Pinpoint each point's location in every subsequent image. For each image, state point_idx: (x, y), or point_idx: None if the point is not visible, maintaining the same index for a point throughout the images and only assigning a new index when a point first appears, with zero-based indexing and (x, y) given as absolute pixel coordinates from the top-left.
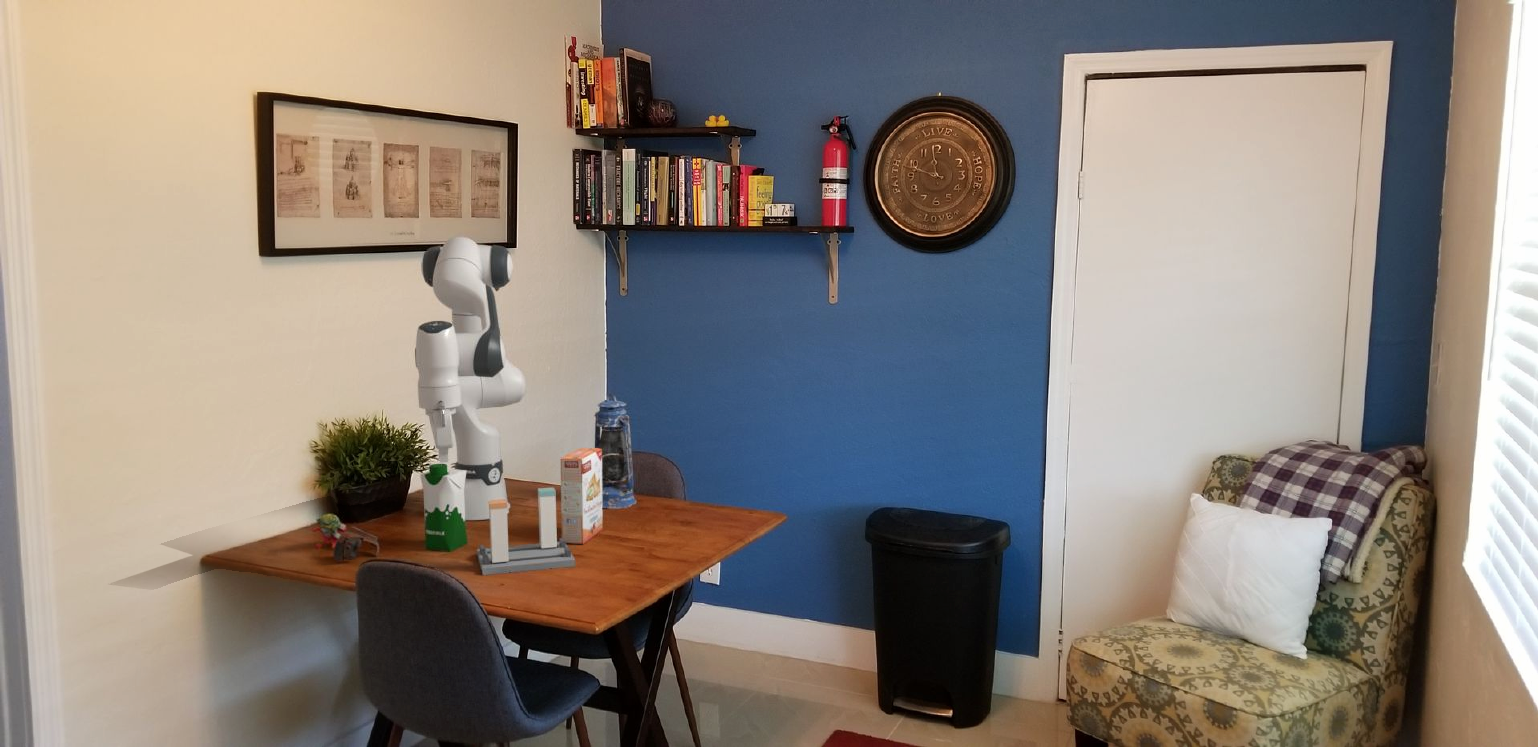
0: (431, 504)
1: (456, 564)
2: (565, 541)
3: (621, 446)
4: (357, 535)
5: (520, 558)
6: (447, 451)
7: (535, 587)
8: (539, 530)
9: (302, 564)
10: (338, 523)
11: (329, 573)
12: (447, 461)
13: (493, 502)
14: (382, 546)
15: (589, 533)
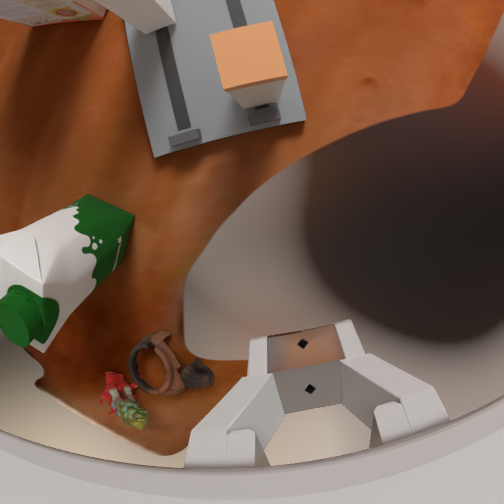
0: (87, 290)
1: (220, 185)
2: None
3: None
4: (176, 378)
5: None
6: (393, 369)
7: (389, 29)
8: (136, 23)
9: (208, 404)
10: (130, 404)
11: None
12: (350, 321)
13: (264, 65)
14: (114, 328)
15: None
